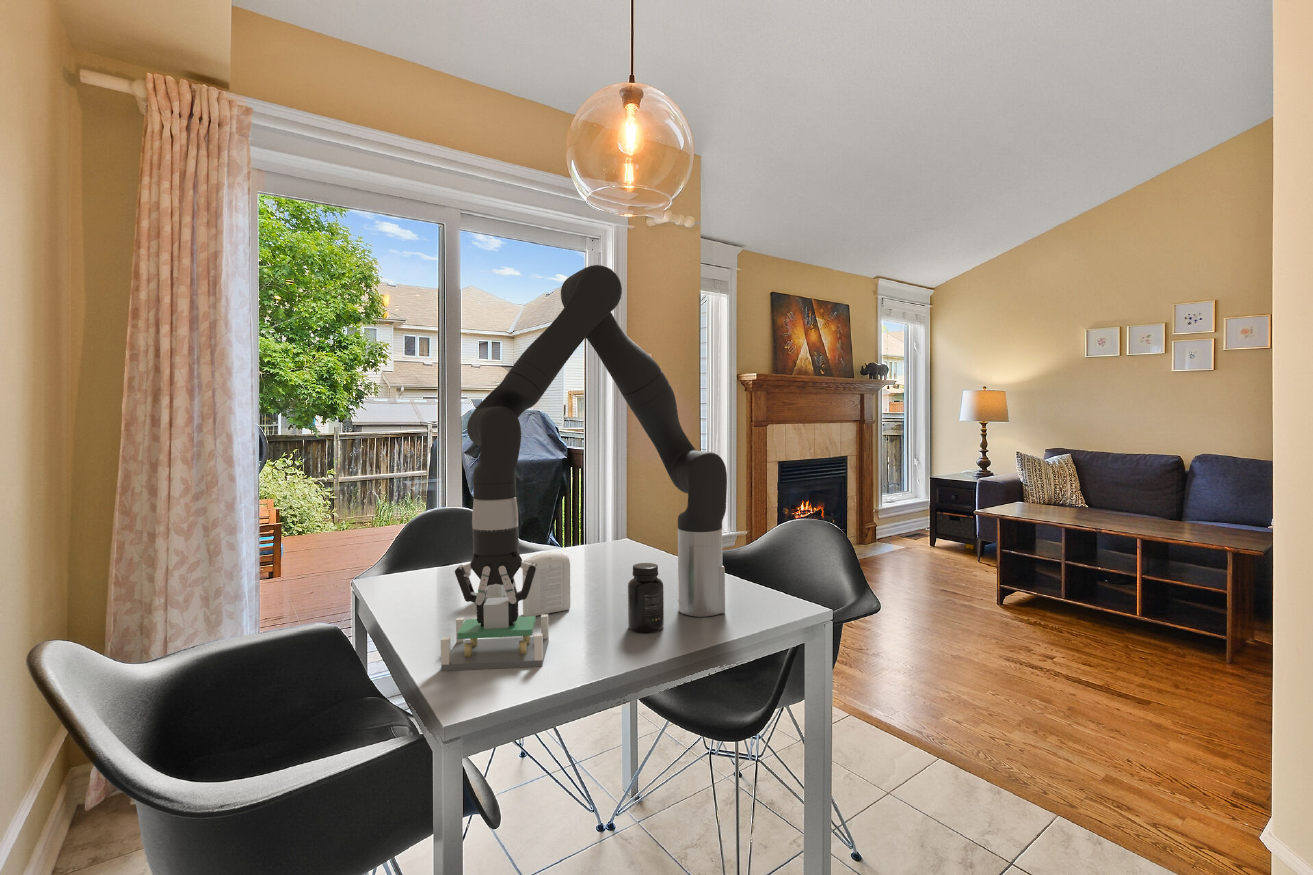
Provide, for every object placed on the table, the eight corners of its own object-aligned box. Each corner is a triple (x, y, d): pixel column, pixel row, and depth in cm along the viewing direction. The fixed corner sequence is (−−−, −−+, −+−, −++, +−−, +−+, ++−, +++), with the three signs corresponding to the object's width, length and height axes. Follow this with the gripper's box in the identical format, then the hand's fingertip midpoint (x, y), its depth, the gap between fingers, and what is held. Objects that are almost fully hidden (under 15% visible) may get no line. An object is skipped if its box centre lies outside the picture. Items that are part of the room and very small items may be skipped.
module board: (535, 621, 108) (535, 593, 107) (531, 635, 101) (531, 605, 100) (466, 624, 106) (465, 596, 106) (457, 639, 99) (456, 608, 99)
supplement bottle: (667, 622, 119) (666, 562, 119) (659, 635, 112) (658, 570, 112) (634, 620, 121) (633, 560, 120) (623, 632, 114) (622, 568, 114)
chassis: (548, 641, 110) (548, 614, 109) (542, 666, 99) (541, 635, 98) (458, 645, 108) (457, 617, 108) (441, 670, 97) (440, 639, 97)
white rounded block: (565, 604, 131) (564, 548, 131) (573, 610, 128) (572, 551, 128) (519, 613, 126) (518, 554, 125) (527, 619, 122) (526, 558, 122)
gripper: (540, 519, 107) (542, 615, 108) (458, 521, 106) (460, 618, 106) (535, 527, 100) (537, 630, 100) (446, 529, 98) (449, 633, 99)
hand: (497, 623), depth 103 cm, fingers closed on module board, 4 cm apart
